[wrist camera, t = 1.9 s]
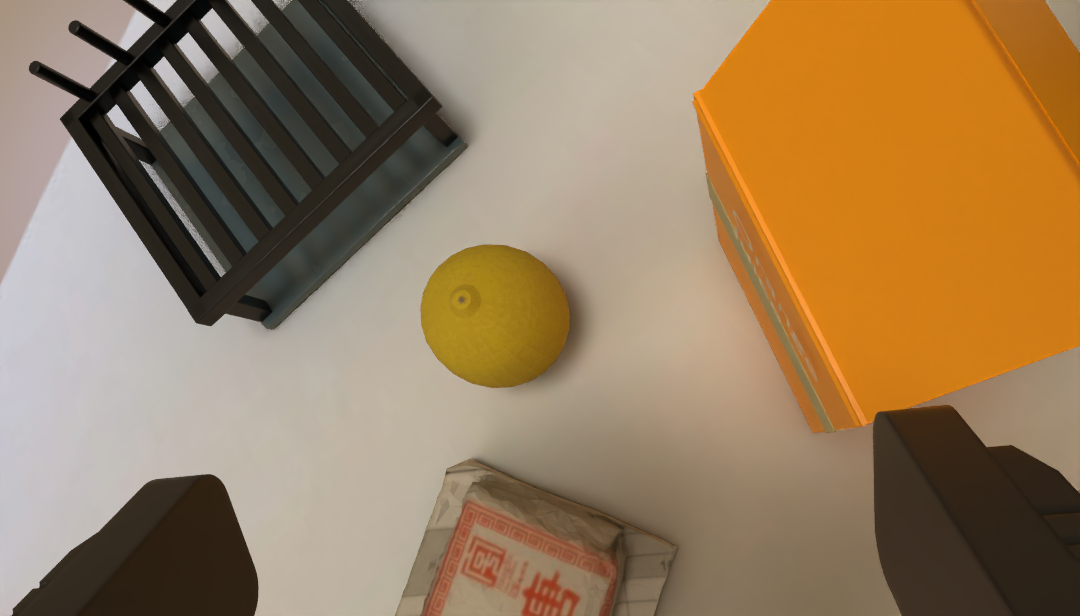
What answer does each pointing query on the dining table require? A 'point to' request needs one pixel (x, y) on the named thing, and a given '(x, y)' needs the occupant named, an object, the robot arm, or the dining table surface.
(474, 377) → the lemon
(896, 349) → the orange juice
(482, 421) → the dining table surface
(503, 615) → the packaged product
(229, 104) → the dish rack
